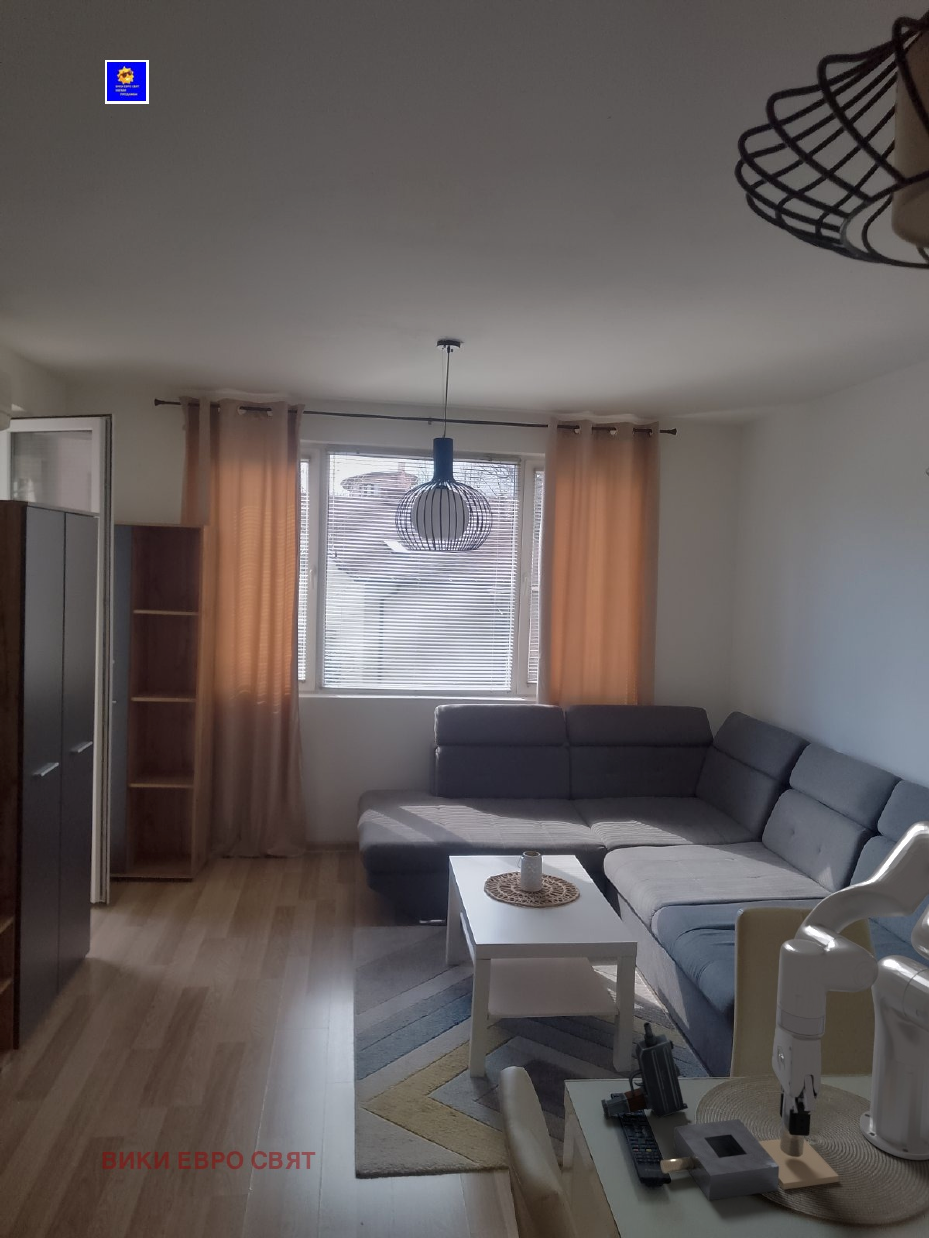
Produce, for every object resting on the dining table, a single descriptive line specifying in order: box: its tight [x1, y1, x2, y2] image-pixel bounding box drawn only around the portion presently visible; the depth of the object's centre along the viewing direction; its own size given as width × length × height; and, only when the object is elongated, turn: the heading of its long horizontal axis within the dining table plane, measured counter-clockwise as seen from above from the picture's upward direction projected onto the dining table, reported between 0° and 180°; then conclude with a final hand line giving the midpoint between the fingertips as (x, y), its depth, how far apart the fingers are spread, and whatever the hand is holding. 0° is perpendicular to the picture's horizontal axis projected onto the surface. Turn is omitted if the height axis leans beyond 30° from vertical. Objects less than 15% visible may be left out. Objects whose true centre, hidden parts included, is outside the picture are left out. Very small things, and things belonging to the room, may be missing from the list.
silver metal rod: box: [779, 1090, 805, 1157], centre depth 142 cm, size 4×4×13 cm
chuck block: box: [659, 1118, 779, 1201], centre depth 140 cm, size 17×12×4 cm
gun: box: [600, 1021, 689, 1119], centre depth 154 cm, size 3×17×15 cm
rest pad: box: [758, 1138, 840, 1190], centre depth 143 cm, size 10×10×1 cm
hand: (794, 1124), depth 142 cm, fingers closed on silver metal rod, 3 cm apart
